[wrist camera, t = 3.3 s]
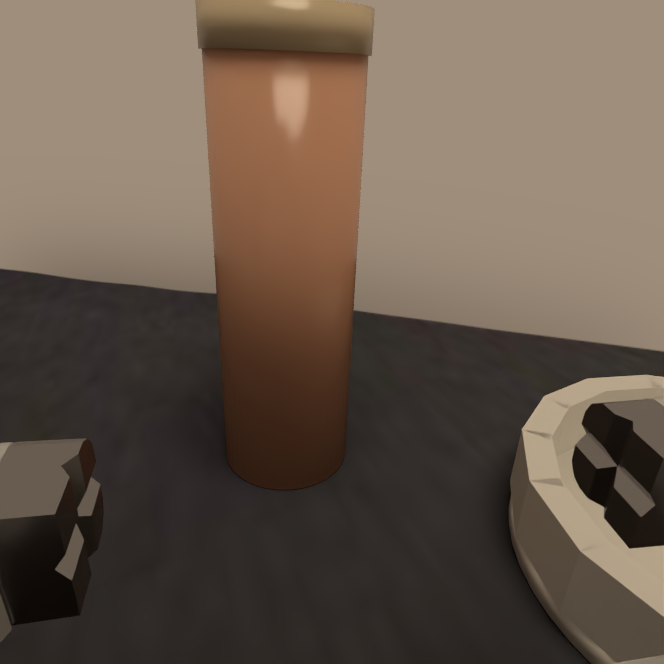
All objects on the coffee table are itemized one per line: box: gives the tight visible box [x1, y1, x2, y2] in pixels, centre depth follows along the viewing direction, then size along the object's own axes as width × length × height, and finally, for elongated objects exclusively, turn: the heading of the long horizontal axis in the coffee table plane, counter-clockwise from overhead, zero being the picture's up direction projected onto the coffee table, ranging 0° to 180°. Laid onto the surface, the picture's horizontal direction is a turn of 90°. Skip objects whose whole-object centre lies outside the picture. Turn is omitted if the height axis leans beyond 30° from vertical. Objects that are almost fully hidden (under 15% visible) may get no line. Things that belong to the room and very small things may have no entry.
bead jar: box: [195, 0, 374, 490], centre depth 20 cm, size 5×5×16 cm
